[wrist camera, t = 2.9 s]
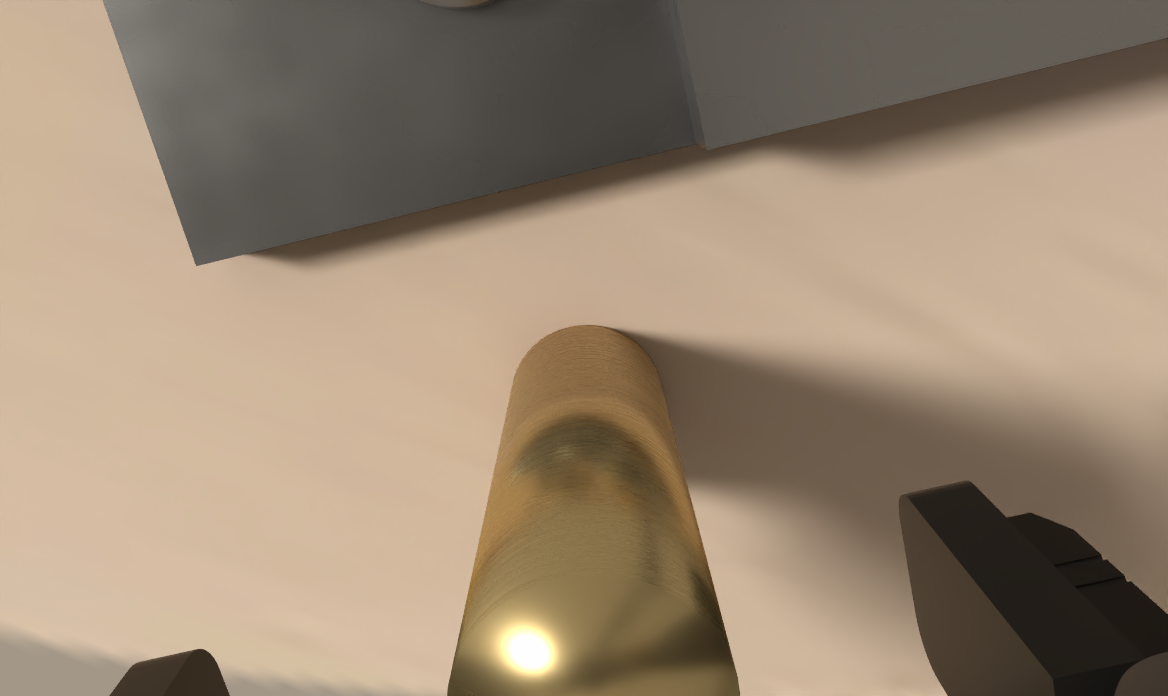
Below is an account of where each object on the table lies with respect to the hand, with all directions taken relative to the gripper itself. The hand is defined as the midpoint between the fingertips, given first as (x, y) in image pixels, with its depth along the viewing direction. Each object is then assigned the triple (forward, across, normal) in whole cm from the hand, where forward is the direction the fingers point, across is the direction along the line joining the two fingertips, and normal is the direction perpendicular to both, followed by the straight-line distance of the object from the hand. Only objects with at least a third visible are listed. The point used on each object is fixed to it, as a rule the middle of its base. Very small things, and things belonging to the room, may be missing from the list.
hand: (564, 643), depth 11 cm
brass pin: (+9, 0, 0) cm, 9 cm away
